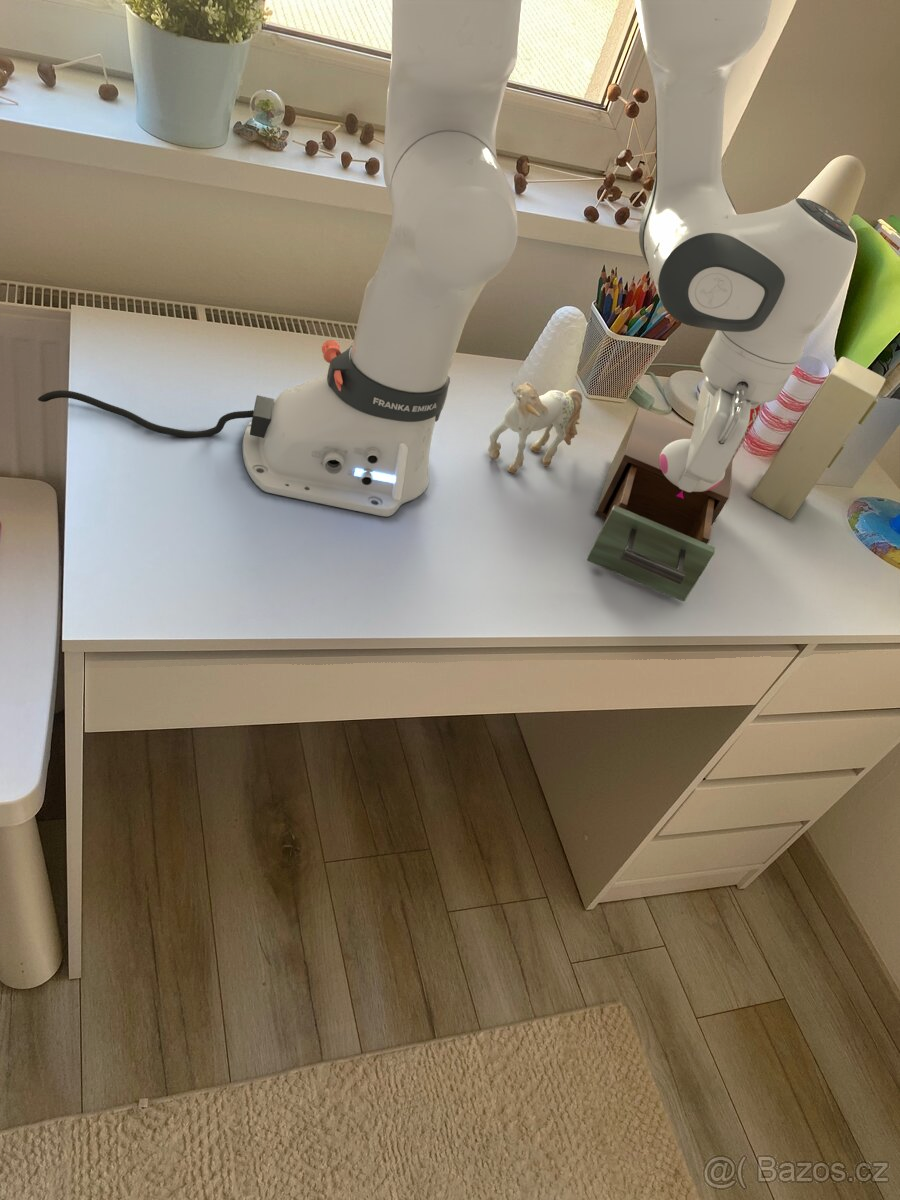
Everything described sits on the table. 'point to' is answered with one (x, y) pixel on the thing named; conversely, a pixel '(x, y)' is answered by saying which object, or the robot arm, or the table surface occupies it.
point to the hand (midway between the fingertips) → (687, 471)
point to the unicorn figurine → (539, 421)
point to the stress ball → (680, 465)
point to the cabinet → (652, 457)
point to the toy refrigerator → (819, 436)
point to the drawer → (656, 534)
